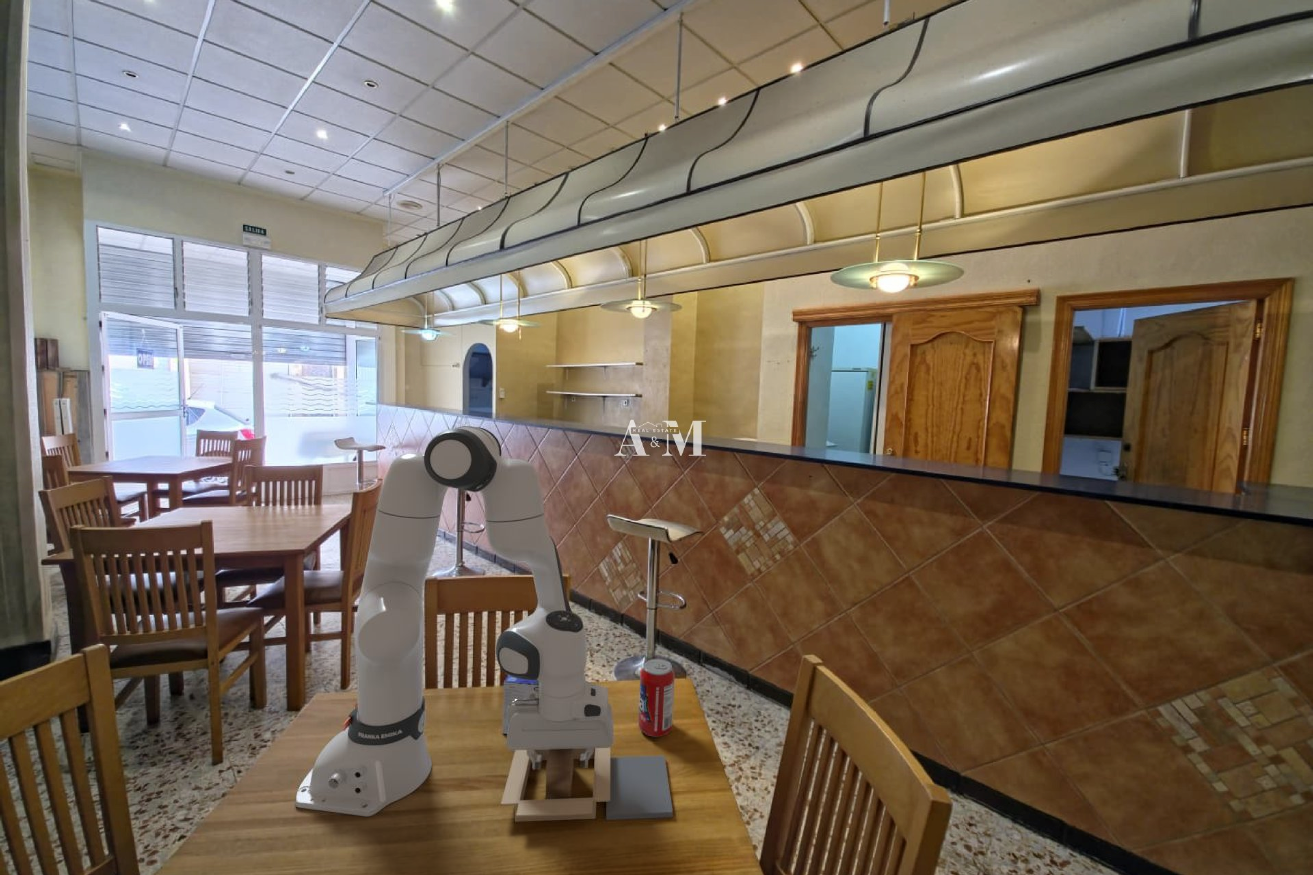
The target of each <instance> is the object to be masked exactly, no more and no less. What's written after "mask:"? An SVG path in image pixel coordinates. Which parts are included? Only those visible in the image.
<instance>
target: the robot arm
mask: <svg viewBox="0 0 1313 875" xmlns="http://www.w3.org/2000/svg"><path fill="white" fill-rule="evenodd" d="M449 488H451V489H457V490H463V491H467V492H471V493H477V492H479V493H480V494H481V496H482V498H483V499H482V500H483V504H484V516H485V528H486V529H485V530H486V538H487V541H488V544H489V547H490V549H491V550H492V551H493V552H494V553H495V554H496V555H497V556H498V557H500V558H502V559H503V560H506V561H510V562H514V563H524V564H526V565H527V566H528V567H529V569H530V570H531V574H532V578H533V582H534V586H535V592H536V596H537V605H536V608H535V609H534V612H532V614H530V615H529V616H527V617H525V618H524V619H522V620H520V621H518V622H516V623H514V624H512V625H511V626H510V627H508V628H507V629H505V630H504V631H503V632H502V633H500V634H499V636H498V638H497V641H496V645H495V657H496V660H497V664H498V665H499V666H498V667H499V668H500V669H501V670H502V672H504V673H505V674H506V675H508V676H512V677H515V678H519V679H525V680H536V679H537V680H538V681H539V698H530V699H515V701H513V702H511V703H509V704H508V706H507V709H506V717H507V720H508V721H509V722H510V723H509V727H508V732H507V734H506V743H505V744H506V747H507V748H508V749H509V750H510V751H515V750H527V755H528V757H529V758H530V760H531V761H532V762H531V765H532V766H531V767H532V768H531V769H532V770H541V767H542V760H541V755H537V753H536V752H535V750H547V749H584V748H587V750H586V752H585V754H581V756H580V759H579V768H581V769H582V768H583V769H586V768H588V766H589V760H590V759H589V758H590V757H591V755H592V754H593V753H594V748H609V747H610V748H611V746H612V745H613V744H614V736H615V735H614V716H613V710H612V706H611V704H610V703H609V693H608V688H607V687H605V686H603V685H600V684H596V683H593V682H590V681H587V679H586V674H585V669H586V665H587V660H588V658H587V656H588V655H587V654H588V647H587V646H588V643H587V641H588V640H587V632H586V627H585V624H584V621H583V619H582V618H581V617H580V616H579V615H578V614H576V613H574V612H573V611H572V608H571V606H570V603H569V600H568V596H567V591H566V590H567V589H566V586H565V581H564V580H565V579H564V576H563V571H562V570H563V569H562V565H561V560H560V555H559V551H558V548H557V545H556V544H557V543H555V540H554V539H553V537H552V536H551V535H550V533H549V531H548V527H547V523H546V517H545V508H544V500H543V494H542V488H541V484H540V479H539V476H538V472H537V470H536V467H535V466H534V465H533V464H532V463H530V462H528V461H527V460H524V459H519V458H504V457H502V446H501V443H500V441H499V439H498V437H497V436H496V435H495V434H493V433H492V432H491V431H489V430H488V429H485V428H483V427H480V426H479V427H478V426H470V425H465V426H463V425H462V426H458V427H454V428H449V429H446V430H442V431H441V432H439V433H438V434H436V435H435V436H434V437H433V438H431V439H430V441H429V443H428V444H427V446H426V448H425V451H424V452H423V453H422V452H410V453H404V454H402V455H399V456H397V457H396V458H395V459H394V460H393V461H392V462H391V464H390V466H389V468H388V470H387V473H386V476H385V478H384V481H383V484H382V486H381V490H380V494H379V497H378V502H377V506H376V510H375V511H376V512H375V515H374V522H373V527H372V532H371V537H370V538H371V539H370V543H369V548H368V553H367V557H366V565H365V568H364V574H363V578H362V584H361V589H360V593H359V600H358V605H357V610H356V611H357V612H356V615H355V620H354V621H355V622H354V629H353V634H354V655H355V665H356V677H357V678H356V680H357V682H356V683H357V684H356V685H357V686H356V687H357V702H356V703H355V706H354V707H355V708H354V709H353V710H352V711H350V713H349V715H348V717H347V719H346V720H345V721H344V723H343V725H342V727H343V729H342V731H340V732H338V734H336V735H335V736H334V737H332V739H331V740H329V742H328V743H327V744H326V745H325V747H324V748H323V749H322V750H321V752H320V753H319V755H318V757H317V758H316V761H315V763H314V766H313V767H312V768H311V770H310V771H309V772H308V773H307V774H306V776H305V778H304V779H303V781H302V782H301V783H300V785H299V787H298V789H297V792H296V796H295V807H297V808H301V809H308V810H314V811H315V810H316V811H324V812H331V813H338V814H344V815H345V814H346V815H353V816H361V817H371V816H374V815H376V814H377V813H378V812H380V811H382V810H383V809H384V808H385V807H386V806H388V805H390V804H391V803H394V802H396V801H399V800H400V799H403V798H404V797H406V796H408V795H410V794H411V793H413V792H414V791H416V790H417V789H418V788H419V787H420V786H421V785H422V784H423V783H424V782H425V781H426V780H427V778H428V776H429V775H430V773H431V770H432V765H433V763H432V762H433V761H432V758H431V757H430V753H429V751H428V747H427V742H426V736H425V727H426V721H427V720H426V719H427V718H426V717H427V711H426V700H425V696H424V695H423V693H424V692H423V690H424V689H423V686H424V684H423V681H424V680H423V675H424V674H423V670H424V669H423V665H424V664H423V663H424V660H423V659H424V642H425V641H424V639H425V636H424V634H425V632H424V631H425V615H424V603H423V601H424V600H423V597H424V596H423V595H424V589H425V583H426V579H427V575H428V572H429V567H430V564H431V561H432V558H433V555H434V553H435V547H436V542H437V536H438V533H439V532H438V531H439V525H440V520H441V515H442V510H443V504H444V500H445V496H446V494H447V491H448V490H449Z"/></svg>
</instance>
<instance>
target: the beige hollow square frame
mask: <svg viewBox="0 0 1313 875" xmlns="http://www.w3.org/2000/svg"><path fill="white" fill-rule="evenodd" d="M586 750H587V748H584V749H574V760H580V756H581V754H585V752H586ZM535 752H536V753H537V755H541V761H547V759H548V754H549V749H547V750H535ZM610 757H611V746H610V747H609V748H594V753H593V754H592V755H591V757H590V758H589V760H592V759H593V760H594V767H593V769H594V770H593V771H594V772H593V786H592V788H593V790H592V792H593V793H592V797H578V798H576V797H575V798H571V797H570V799H546V798H545V799H525V800H524V798H525V794H526V788H527V783H528V779H529V777H530V776H529V775H530V771H531V767H532V766H531V765H532V761H531V760H530V758H529V757H528V755H527V750H514V754H513V758H512V761H511V765H510V769H509V772H508V777H507V779H506V784H505V787H504V792H503V794H502V799H501V801H500V806H514V807H515V808H514V810H515V812H514V822H515V823H517V822H518V823H519V822H535V821H536V822H543V821H546V822H547V821H565V820H566V821H568V820H587V819H588V820H591V819H594V820H595V819H596V818H597V817H596V816H597V815H596V814H597V812H596V811H597V803H601V802H603V803H604V802H606V801H610Z"/></svg>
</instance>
